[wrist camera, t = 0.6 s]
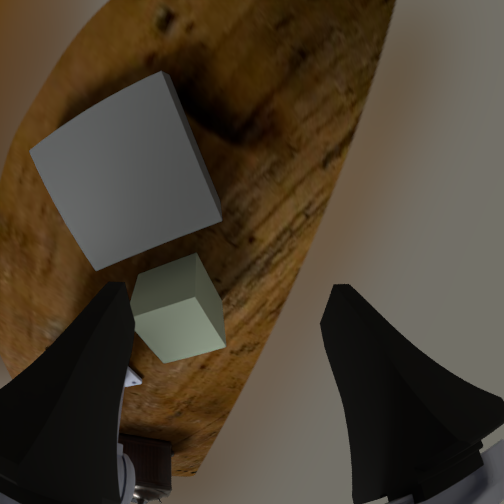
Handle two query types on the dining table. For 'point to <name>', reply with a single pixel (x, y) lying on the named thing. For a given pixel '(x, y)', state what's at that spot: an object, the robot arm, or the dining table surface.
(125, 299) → the robot arm
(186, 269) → the green cube
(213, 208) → the gray plinth
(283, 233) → the dining table surface
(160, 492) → the manual coffee grinder
